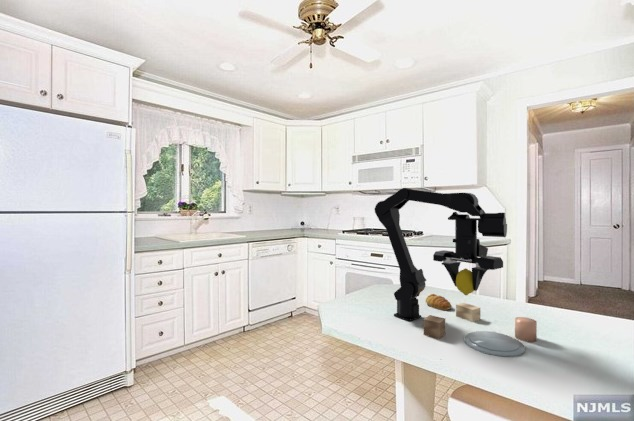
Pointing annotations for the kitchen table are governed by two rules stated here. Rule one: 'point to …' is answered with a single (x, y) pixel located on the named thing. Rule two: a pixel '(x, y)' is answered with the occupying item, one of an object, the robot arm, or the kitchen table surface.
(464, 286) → the lemon
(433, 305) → the pastry
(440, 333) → the walnut block
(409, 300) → the robot arm
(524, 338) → the pink cylinder
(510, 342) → the plate
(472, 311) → the beech block
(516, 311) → the kitchen table surface
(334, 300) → the kitchen table surface
